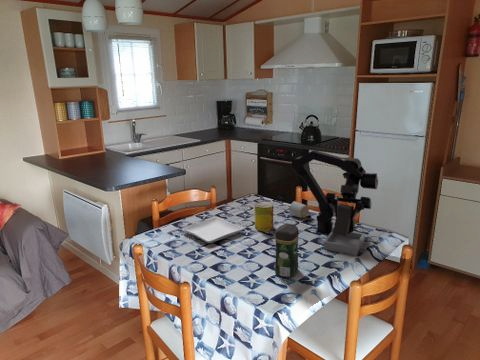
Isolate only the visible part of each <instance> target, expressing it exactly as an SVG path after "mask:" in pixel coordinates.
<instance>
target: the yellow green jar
mask: <svg viewBox="0 0 480 360" xmlns="http://www.w3.org/2000/svg"><path fill="white" fill-rule="evenodd" d="M254 229H255V230H256V231H258V230H259V232H269V231H270V232H271V231H273V229H274V203H273V202H269V201H259V202H256V203H254Z"/></svg>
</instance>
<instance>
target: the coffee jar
mask: <svg viewBox="0 0 480 360" xmlns="http://www.w3.org/2000/svg"><path fill="white" fill-rule="evenodd" d="M274 235H275V236H274V241H275V262H274V263H275V266H274V267H275V268H274V273H275V274H276V275H277V276H278V277H281V278H292V277H294V276H295V275H296V274H297V272H298V270H299V227H298V226H297V225H296V224H292V223H284V224H281V225H280V226H278V227H277V229H276V230H275V232H274Z"/></svg>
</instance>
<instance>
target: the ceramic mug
mask: <svg viewBox="0 0 480 360" xmlns="http://www.w3.org/2000/svg"><path fill="white" fill-rule="evenodd" d="M288 213H289V215H290V216H292V217H297V218H299V219H305V218H307V216H308V215H309V214H310V210H309V206H308V205H306V204H303V203H301V202H298V201H292V203H290V205H289V211H288Z"/></svg>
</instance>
